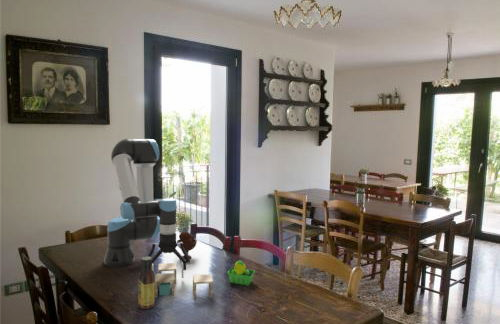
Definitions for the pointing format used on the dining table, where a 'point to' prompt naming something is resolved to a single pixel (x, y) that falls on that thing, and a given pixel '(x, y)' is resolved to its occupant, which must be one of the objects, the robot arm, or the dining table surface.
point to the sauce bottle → (146, 284)
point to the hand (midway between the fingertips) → (167, 277)
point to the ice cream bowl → (187, 242)
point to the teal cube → (164, 288)
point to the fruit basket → (240, 274)
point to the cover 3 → (202, 280)
